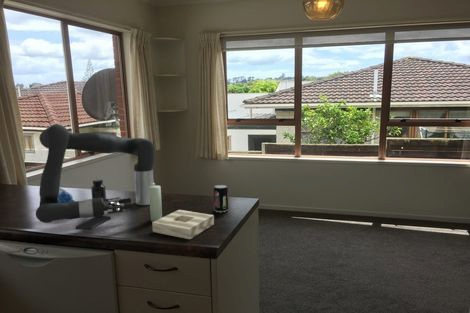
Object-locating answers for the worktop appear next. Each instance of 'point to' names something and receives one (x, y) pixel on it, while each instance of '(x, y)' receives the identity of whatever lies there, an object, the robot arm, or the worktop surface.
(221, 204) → the beverage can
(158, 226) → the socket block
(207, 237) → the worktop surface
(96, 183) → the supplement bottle
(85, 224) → the phone
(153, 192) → the peg
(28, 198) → the worktop surface
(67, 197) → the grapes
